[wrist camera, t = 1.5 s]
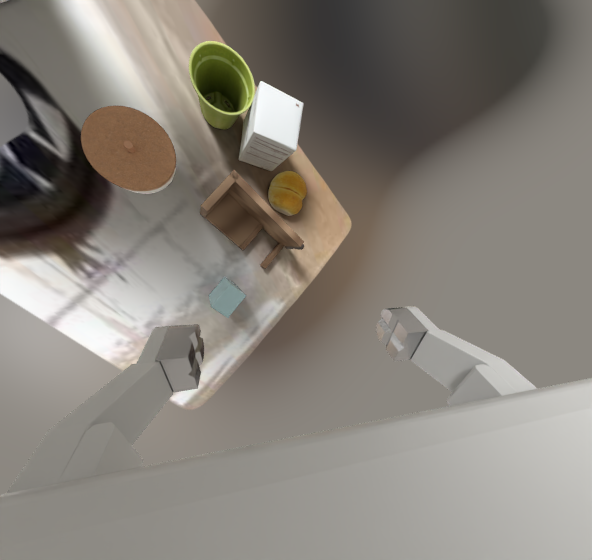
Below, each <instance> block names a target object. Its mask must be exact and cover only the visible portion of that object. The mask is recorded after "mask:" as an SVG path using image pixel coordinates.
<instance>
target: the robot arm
mask: <svg viewBox="0 0 592 560" xmlns="http://www.w3.org/2000/svg"><path fill="white" fill-rule="evenodd" d="M5 1H8V0H0V3H2V2H5ZM381 317H382V319H381V320H380V321H379V322H378V323H377V326H376V333H377V335H378V338H379V340H380V341H381V342H382V343H384V344H386V350H387V352H388V353H389V355H390V356H391V358H392V359H393V361H402V360H411V361H412V362H413V363H415V364H416V365H417V366H418V367H420V368H421V369H422V370H424V371H425V372H426V373H428V374H429V375H430V376H432V377H433V378H434V379H436V380H437V381H438V382H440V383H441V384H442V385H444V386H445V387H446V388H448V389H449V390H450V391H451V392H452V394H451V395H450V396H449V397H448V398H447V403H448V404H449V405H450V406H447V407H443V408H437V409H432V410H427V411H422V412H417V413H412V414H407V415H402V416H397V417H391V418H386V419H381V420H376V421H371V422H366V423H361V424H356V425H351V426H346V427H341V428H336V429H331V430H325V431H320V432H315V433H311V434H305V435H300V436H295V437H290V438H285V439H280V440H274V441H269V442H264V443H259V444H254V445H249V446H244V447H239V448H234V449H229V450H224V451H219V452H214V453H209V454H204V455H199V456H193V457H189V458H184V459H178V460H173V461H168V462H163V463H158V464H153V465H148V466H143V467H141V466H142V463H143V459H142V457H141V456H140V455H139V453H138V452H137V451H136V450H135V449H134V448H133V446H132V445H133V444H134V442H135V441H136V440H137V438H138V437H139V436H140V435H141V434H142V432H143V431H144V430H145V429H146V427H147V426H148V425H149V424H150V422H151V421H152V420H153V418H154V417H155V416H156V415H157V414H158V412H159V411H160V410H161V408H162V407H163V406H164V404H165V403H166V402H167V401H168V400H169V398H170V397H171V396H172V395H173V392H179V391H185V390H191V389H197V388H198V384H199V379H200V374H201V371H200V367H199V366H200V365H201V364H202V362H203V358H204V342H203V339H202V338H201V337H200V332H201V330H200V326H199V325H198V324H194V325H177V326H165V327H156V328H154V329H153V330H152V332H151V335H150V337H149V339H148V341H147V343H146V345H145V347H144V349H143V351H142V353H141V355H140V357H139V359H138V361H137V364H132V365H130V366H129V367H128V368H126V369H125V370H124V371H123V372H121V373H120V374H119V375H118V376H116V377H115V378H114V379H113V380H111V381H110V382H109V383H108V384H107V385H105V386H104V387H103V388H101V389H100V390H99V391H97V392H96V393H95V394H94V395H93V396H91V397H90V398H89V399H87V400H86V401H85V402H84V403H82V404H81V405H80V406H79V407H77V408H76V409H75V410H73V411H72V412H71V413H70V414H68V415H67V416H66V417H65V418H63V419H62V420H61V421H60V422H58V423H57V424H56V425H55V426H53V427H52V428H51V429H49V431H48V432H47V434H46V435H45V436H44V438H43V439H42V441H41V442H40V444H39V445H38V447H37V448H36V450H35V451H34V453H33V454H32V456H31V457H30V459H29V460H28V462H27V463H26V465H25V466H24V468H23V469H22V471H21V472H20V474H19V475H18V477H17V478H16V480H15V481H14V482H13V484H12V486H11V487H10V489H9V490H8V492H7V493H6V494H1V495H0V560H592V378H590V379H585V380H580V381H575V382H569V383H564V384H559V385H554V386H549V387H544V388H539V389H537V388H536V387H535V386H534V385H533V384H531V383H530V382H529V381H528V380H527V379H525V378H524V377H523V376H522V375H521V374H520V373H519V372H517V371H516V370H515V369H514V368H513V367H512V366H511V365H509V364H508V363H507V362H506V361H505V360H503V359H501V358H499V357H497V356H495V355H492V354H491V353H489V352H487V351H485V350H483V349H480V348H478V347H476V346H474V345H472V344H470V343H468V342H466V341H464V340H462V339H460V338H458V337H456V336H454V335H452V334H450V333H448V332H446V331H444V330H439V329H438V328H437V327H436V326H435V325H434V324H433V323H432V322H431V321H430V320H429V319H428V318H427V317H426V316H425V315H424V314H423V313H422V312H421V311H420V310H419V309H418V308H417V307H414V306H409V307H401V308H400V307H399V308H388V309H384V310H383V311H382V313H381Z"/></svg>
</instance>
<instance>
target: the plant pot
mask: <svg viewBox="0 0 592 560" xmlns="http://www.w3.org/2000/svg"><path fill="white" fill-rule="evenodd" d="M189 74H190V79H191V82H192V84H193V87H194V89H195V91H196V92H197V94H198V97H199V102H200V107H201V111H202V114H203V116H204V118H205V119H206V121H207V122H208V123H209V124H210V125H212V126H213V127H215V128H219V129H228V128H230V127H231V126H232V125H233V124H234V122H235V121H236V119H237V118H238V116H239V115H240V114H242V113H244V112H245V111H247V110H248V108H249V107H250V106H251V104H252V102H253V98H254V94H255V85H254V80H253V77H252V74H251V72H250V69H249V67H248V66H247V64H246V63H245V61H244V60H243V59H242V57H241V56H240V55H239V54H238V53H237V52H235V51H234V50H233V49H232V48H230V47H228V46H227V45H224V44H222V43H220V42H215V41H207V42H203V43H200V44H199V45H198V46H196V47H195V48H194V50H193V51H192V53H191V56H190V60H189ZM209 96H210V97H211V98H210V99H209V100H208V101H206V99H207V98H208V97H209ZM224 100H226V101H227V102H228V103H229V105H230V108H229V107H228V105H227V104H226V103H225V102H224ZM219 109H220V110H219Z"/></svg>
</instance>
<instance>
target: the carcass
mask: <svg viewBox="0 0 592 560" xmlns="http://www.w3.org/2000/svg"><path fill="white" fill-rule="evenodd" d="M200 214H201V215H202V216H203V217H204V218H206V219H207V220H208V221H209V222H210V223H212V224H213V225H214V226H215V227H216V228H217V229H219V230H220V231H221V232H222V233H223V234H224V235H226V236H227V237H228V238H229V239H230V240H231V241H233V242H234V243H235V244H236V245H237V246H238V247H240V248H241V249H242V250H244V249H245V248H246V247H247V246H248V245H249V243H250V242H251V241H252V240H253V239H254V238H255V236H256V235H257V234H258V233H259V232H260V230H261V229H262V228H263V229H264V230H265V231H266V232H267V233H268V234H269V235H270V236H271V237H272V238H273V239H275V240H276V241H277V242H278V244H277V245H276V247H275V248H274V249H273V250H272V251H271V253H270V254H269V255H268V256H267V257H266V259H265V260H264V261H263V262H262V264H261V266H262V267H263V268H265V269H266V268H267V266H268V265H269V264H270V263H271V261H272V260H273V259H274V258H275V257H276V255H277V254H278V253H279V252H280V250H281V249H282V248H283V247H284V246H285V247H286V248H287V249H301V250H302V249H303V248H304V244H303V243H304V241H303V240H302V239H301V238H300V237H299V236H298V235H297V234H296V233H295V232H294V231H293V230H292V229H291V228H290V227H289V226H288V225H287V224H286V223H285V222H284V221H283V220H282V219H281V217H280V216H279V215H278V214H277V213H276V212H275V211H274V210H273V209H272V208H271V207H270V206H269V205H268V204H267V203H266V202H265V201H264V200H263V199H262V198H261V197H260V196H259V195H258V194H257V193H256V192H255V191H254V190H253V189H252V188H251V186H250V185H249V184H248V183H247V182H246V181H245V180H244V179H243V178H242V177H241V176H240V175H239V174H238V173H237V172H236V171H235V170H233V171H232V172H231V173H230V175H229V176H228V177H227V178H226V179H225V180H224V181H223V182H222V183H221V184H220V185H219V186H218V187H217V189H216V190H215V191H214V192H213V193H212V194H211V195H210V196H209V197H208V198H207V199H206V200H205V201H204V203H203V204H202V205H201V208H200Z"/></svg>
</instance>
